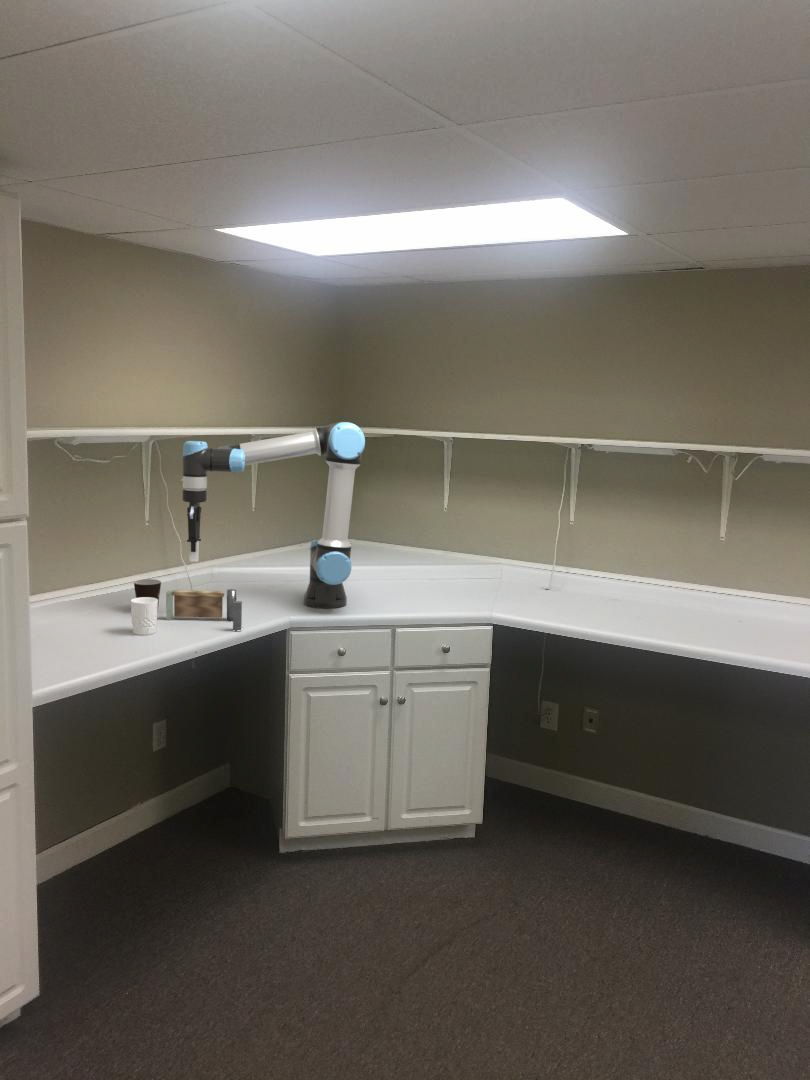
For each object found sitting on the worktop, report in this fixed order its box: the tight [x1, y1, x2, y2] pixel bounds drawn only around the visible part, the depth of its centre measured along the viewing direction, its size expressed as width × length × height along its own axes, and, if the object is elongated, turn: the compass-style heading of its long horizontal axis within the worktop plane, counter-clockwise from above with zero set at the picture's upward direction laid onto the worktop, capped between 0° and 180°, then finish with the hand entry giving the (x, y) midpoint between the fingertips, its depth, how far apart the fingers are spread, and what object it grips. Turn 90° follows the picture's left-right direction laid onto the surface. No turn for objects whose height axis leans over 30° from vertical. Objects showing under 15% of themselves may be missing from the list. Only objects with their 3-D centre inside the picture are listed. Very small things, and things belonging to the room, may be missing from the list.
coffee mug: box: [133, 578, 162, 605], centre depth 286 cm, size 12×9×10 cm
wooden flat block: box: [172, 589, 225, 619], centre depth 278 cm, size 16×2×8 cm, turn 95°
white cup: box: [130, 597, 159, 636], centre depth 260 cm, size 8×8×10 cm
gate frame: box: [165, 588, 243, 631], centre depth 272 cm, size 25×15×10 cm, turn 95°
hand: (193, 561), depth 282 cm, fingers closed
